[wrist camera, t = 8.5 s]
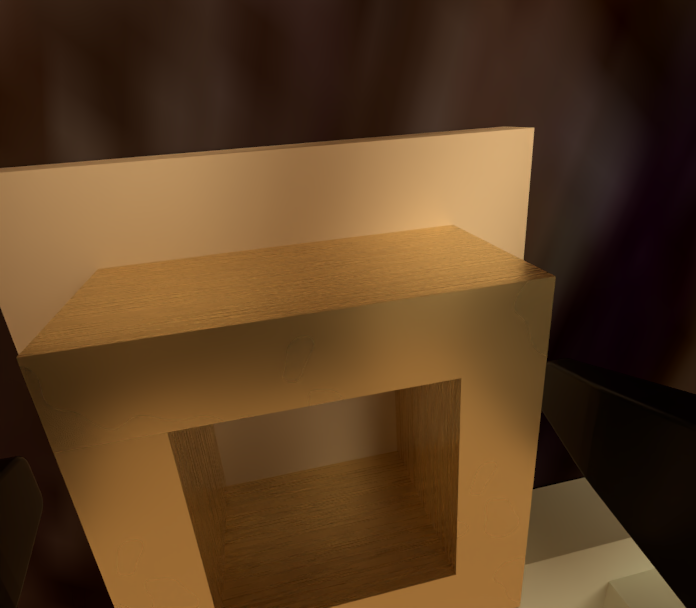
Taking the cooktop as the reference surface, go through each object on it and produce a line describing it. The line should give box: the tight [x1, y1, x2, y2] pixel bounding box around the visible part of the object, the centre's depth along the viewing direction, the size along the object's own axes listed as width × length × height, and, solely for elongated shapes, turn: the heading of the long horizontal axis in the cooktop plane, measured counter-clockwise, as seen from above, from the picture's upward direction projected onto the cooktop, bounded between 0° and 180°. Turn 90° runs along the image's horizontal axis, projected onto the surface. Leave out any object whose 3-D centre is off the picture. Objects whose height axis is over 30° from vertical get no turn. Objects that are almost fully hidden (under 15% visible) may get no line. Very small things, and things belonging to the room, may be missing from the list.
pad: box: [0, 127, 534, 486], centre depth 9 cm, size 9×9×1 cm
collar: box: [16, 225, 556, 608], centre depth 8 cm, size 6×6×3 cm
